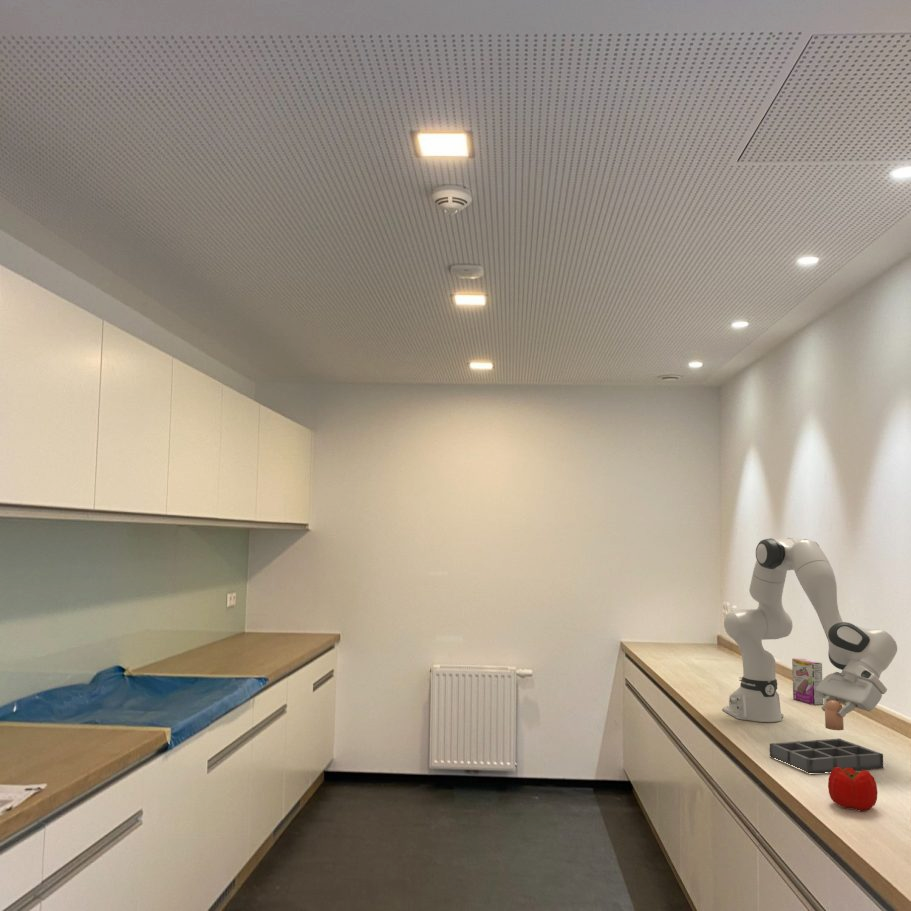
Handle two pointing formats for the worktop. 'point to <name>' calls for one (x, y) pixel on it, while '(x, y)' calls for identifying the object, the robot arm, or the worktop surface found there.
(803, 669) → the candy bar box
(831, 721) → the terracotta egg
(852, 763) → the egg carton
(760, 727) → the worktop surface
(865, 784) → the tomato
